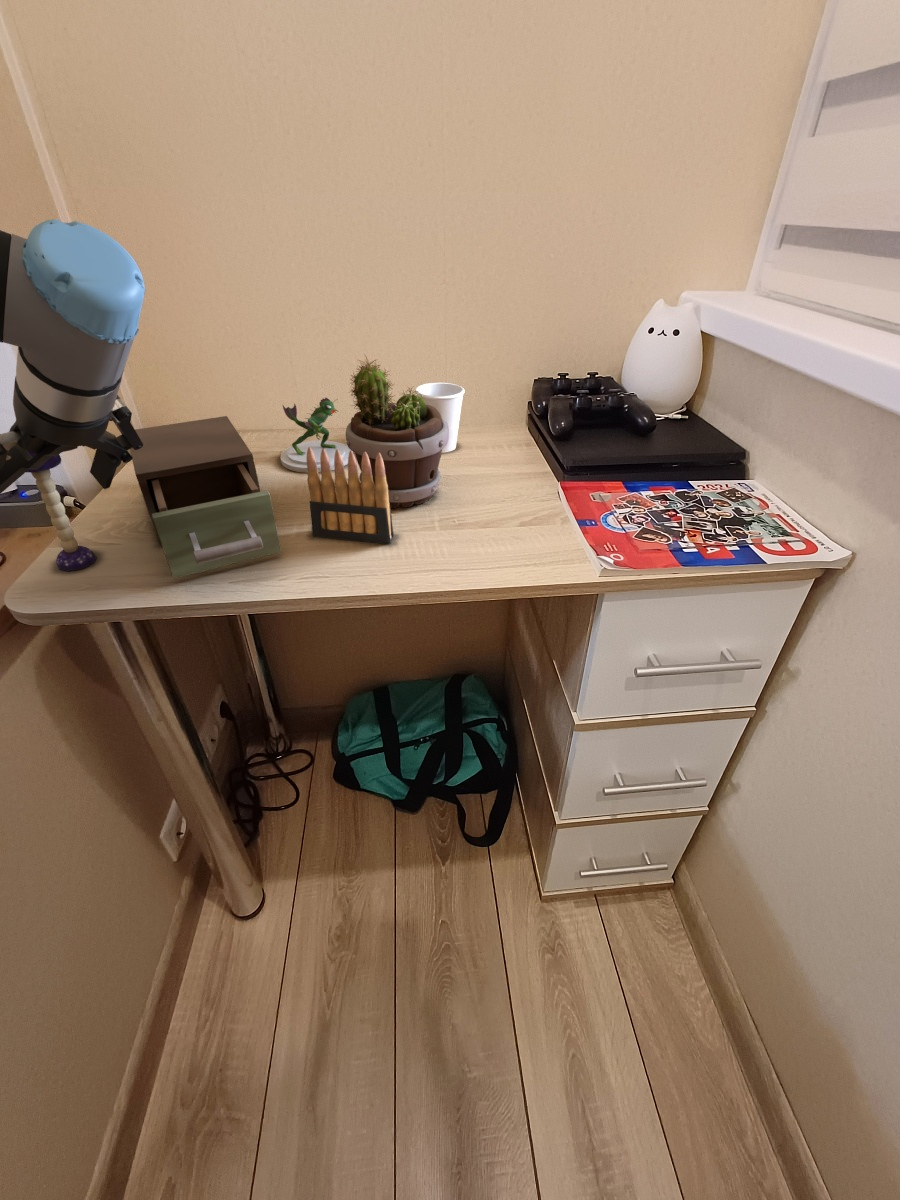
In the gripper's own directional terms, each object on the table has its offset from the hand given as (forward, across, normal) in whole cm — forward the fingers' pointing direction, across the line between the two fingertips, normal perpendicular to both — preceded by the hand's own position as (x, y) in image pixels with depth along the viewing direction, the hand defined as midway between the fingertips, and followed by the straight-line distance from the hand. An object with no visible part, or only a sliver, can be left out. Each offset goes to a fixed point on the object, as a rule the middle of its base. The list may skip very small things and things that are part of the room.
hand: (45, 500), depth 67 cm
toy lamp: (+4, 0, +7) cm, 8 cm away
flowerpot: (-12, -37, +23) cm, 45 cm away
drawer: (-6, -11, +16) cm, 20 cm away
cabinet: (+3, -18, +8) cm, 20 cm away
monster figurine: (+2, -40, +9) cm, 41 cm away
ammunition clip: (-13, -23, +25) cm, 36 cm away
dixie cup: (-8, -56, +19) cm, 60 cm away
